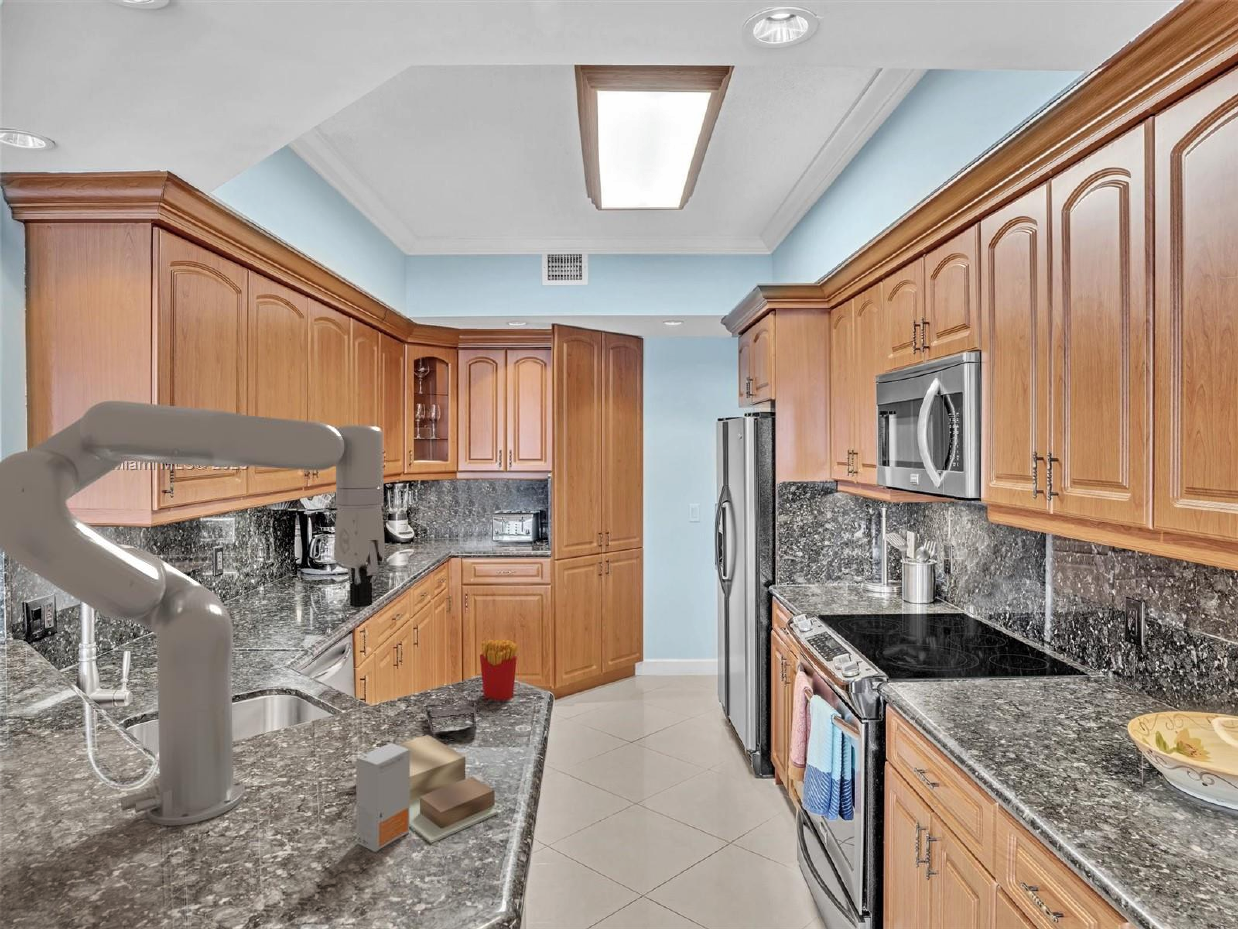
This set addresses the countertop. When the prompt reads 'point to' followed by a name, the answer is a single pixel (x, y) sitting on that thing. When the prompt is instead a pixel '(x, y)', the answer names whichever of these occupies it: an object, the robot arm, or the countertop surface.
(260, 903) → the countertop surface
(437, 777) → the platform
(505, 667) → the french fries
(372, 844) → the skincare box
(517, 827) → the countertop surface
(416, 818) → the mat
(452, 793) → the walnut block
